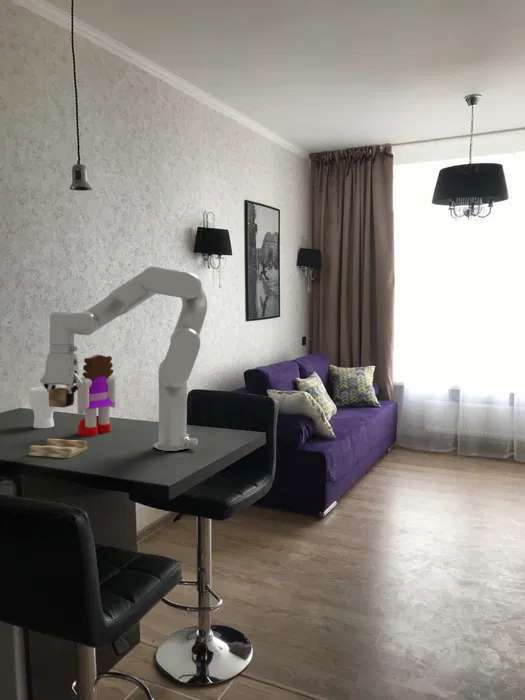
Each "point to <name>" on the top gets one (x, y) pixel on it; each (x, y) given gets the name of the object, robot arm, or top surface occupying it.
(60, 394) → the walnut block
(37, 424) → the cup
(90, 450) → the top surface
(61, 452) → the board
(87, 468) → the top surface
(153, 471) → the top surface
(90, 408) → the toy
